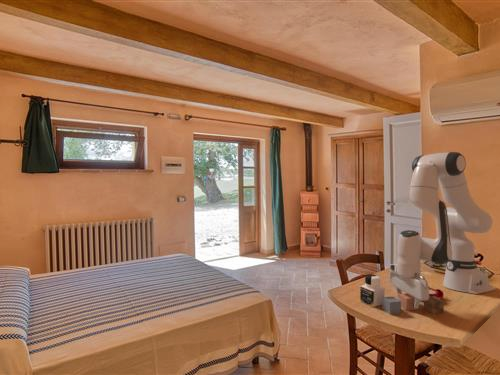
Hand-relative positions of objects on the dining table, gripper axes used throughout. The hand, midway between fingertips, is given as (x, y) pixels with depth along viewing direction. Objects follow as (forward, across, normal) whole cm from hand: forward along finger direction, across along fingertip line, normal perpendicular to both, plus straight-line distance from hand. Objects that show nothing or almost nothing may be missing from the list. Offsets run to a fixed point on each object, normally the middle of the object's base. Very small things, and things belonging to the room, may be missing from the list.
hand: (407, 302), depth 133 cm
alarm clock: (+2, +7, -16) cm, 18 cm away
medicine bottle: (+2, +7, +12) cm, 14 cm away
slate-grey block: (+2, -2, +9) cm, 9 cm away
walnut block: (+2, -5, -8) cm, 10 cm away
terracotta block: (+2, 0, 0) cm, 2 cm away
